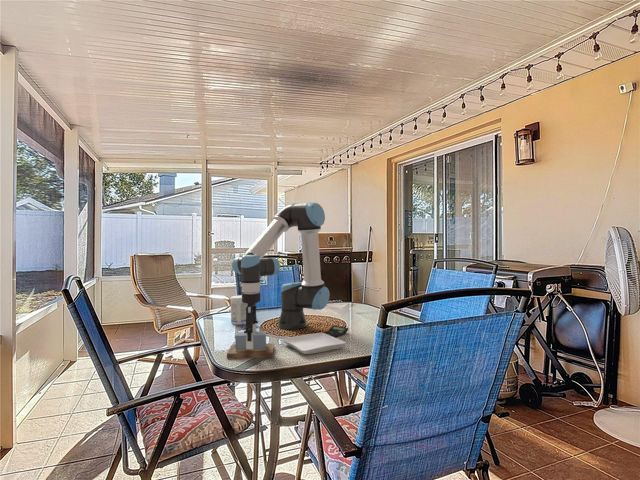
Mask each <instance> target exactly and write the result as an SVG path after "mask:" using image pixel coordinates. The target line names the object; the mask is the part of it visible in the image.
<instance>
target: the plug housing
mask: <svg viewBox="0 0 640 480" xmlns="http://www.w3.org/2000/svg"><path fill="white" fill-rule="evenodd" d="M234 336H235V337H234V338H235V339H234V341H235V344H234V345H235V351H236V350H265V349H266V344H267V331H266V330H264V331H256V332H253V349H246V333H244V331H237V332H236V333H235V335H234Z"/></svg>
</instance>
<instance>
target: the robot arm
mask: <svg viewBox="0 0 640 480" xmlns="http://www.w3.org/2000/svg"><path fill="white" fill-rule="evenodd" d="M325 221H326V214H325V211H324V208H323V206H321V205H320V204H319V203H318V202H300V203H291V204H288V205H286V206H284V207H283V208H282V209H280V210H279V211H278V212H277V213H276V214H275V215H274V216H273V217H272V219H271V223H270V224H269V225H268V226H267V227H266V228H265V230H264V231H263V232H262V233H261V234H260V236H259V237H258V238H257V239H256V240H255V241H254V243H253V244H252V245H251V246H250V247H249V249H248V250H247V251H246V252H245V253H244V254H243V255H242V256H238V257H235V258H234V259H233V260H232V264H231V268H232V271H233V272H235V274H239V275H241V284H240V285H239V287H240V288H241V295H242V302H243V303H247V304H248V306H247V307H246V324H245V330H243V332H244V333H246V349H253V332H257V324H258V323H259V320H257V305H256V304H257V303H260V301H261V293H260V292H261V277H268V276H269V277H270V276H274V275H277V274H278V273H279V272H280V269H281V263H280V261H279V260H278V259H277V258H276V257H268V258H267V257H266V258H265V256H266V254H267V253H268V252H269V251H270V249H271V248H272V247H273V245H274V244H275V243H276V242H277V241H278V239H279V238H280V237H281V236H282V235H283V233H285V232H287V231H288V230H289V229H290V228H294V227H297V231H298V232H299V233H300V238H301V251H302V253H301V254H302V267H303V268H302V269H303V281H296V282H288V283H284V284H282V286H281V289H280V302H281V303H280V304H281V305H280V306H281V307H280V308H281V309H280V311H281V312H280V315H279V319H278V322H277V323H278V324H277V325H278V328H280V329H283V330H300V329H299V328H301V329H304V328H306V327H307V325H308V322H307V319H306V318H307V317H306V316H305V313H304V309H307V310H313V311H316V310H319V311H321V310H323V309H325V308H326V306H327V305H328V303H329V302H330V301H329V300H330V295H331V294H330V290H329V288H328V287H327V286H325V281H324V280H322V275H321V257H320V256H321V255H320V244H319V243H320V241H319V232H320V231H321V229H322V227H321V226H323V225H324V224H325Z"/></svg>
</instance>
